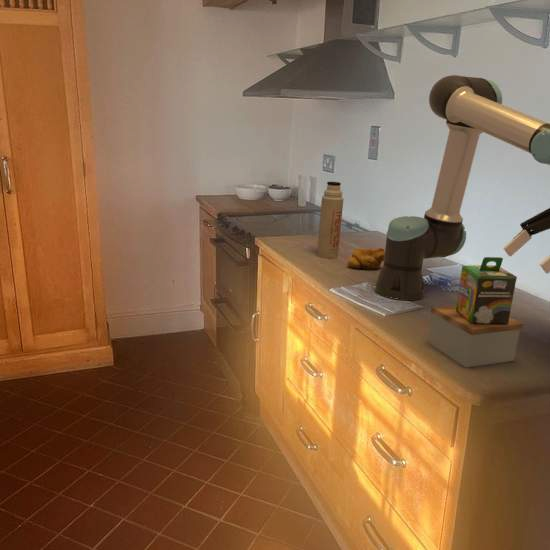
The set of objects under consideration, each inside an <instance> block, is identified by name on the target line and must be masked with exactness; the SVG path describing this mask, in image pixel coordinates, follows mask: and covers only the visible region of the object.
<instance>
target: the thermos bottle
mask: <svg viewBox="0 0 550 550" xmlns="http://www.w3.org/2000/svg"><path fill="white" fill-rule="evenodd" d="M326 184H327V185H326V189H325V190H324V191H323V196H322V197H321V205H320V213H319V214H320V217H319V227H318V237H317V238H318V240H317V249H316V250H317V251H316V256H317V257H320V258H321V259H329V260H330V259H337V258H338V256H339V248H340V236H341V228H342V227H341V226H342V220H343V219H342V218H343V208H344V197H343V192H342V190H341V185H342V183H341V182H340V181H327V183H326Z"/></svg>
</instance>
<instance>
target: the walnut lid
mask: <svg viewBox="0 0 550 550" xmlns="http://www.w3.org/2000/svg"><path fill="white" fill-rule="evenodd" d="M456 307H457V304H456V305H446V306H445V305H444V306H434V307H430V308H431V309H430V311H431V314H432V313H434V314H436V315H437V316H439V317H441V318H443V319H445V320H447V321H448V322H450V323H452V324H454V325H456V326H457V327H459V328H461V329H463V330H465V331H467V332H468V333H470V334H472V335H473V334H481V333H490V332H499V331H507V330H516V329H520V330H522V329H523V328H524V323H523V322H520V321H518V320H517V319H514V318H512V317H510V316H509V322H508V325H506V324H471V323H470V322H469V321H468V320H467V319H466V318H464V317H463V316H462V315H461V314H460V313H458V312H457V311H456Z"/></svg>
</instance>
